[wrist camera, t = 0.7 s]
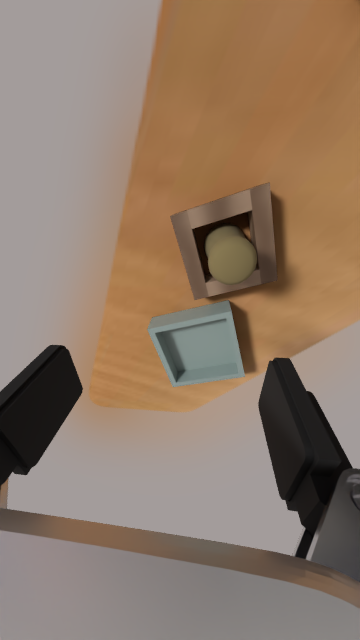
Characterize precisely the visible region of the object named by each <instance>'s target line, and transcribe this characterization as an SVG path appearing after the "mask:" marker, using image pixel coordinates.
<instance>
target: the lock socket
mask: <svg viewBox="0 0 360 640" xmlns="http://www.w3.org/2000/svg"><path fill="white" fill-rule="evenodd" d="M244 212H247V213H248V221H249V228H250V236H251V244H252V245H253V246H254V248H255V250H256V254H257V263H256V268H255V270H254V271H253V273H252V275H251V276H250V277H249V278H248V279H247V280H245V281H243V282H242V283H240V284H235V285H225V284H223V283H220V282H219V281H217V280H216V279H215V278H214V277H213V276H212V274H209V275H205V273H204V269H203V265H202V261H201V257H200V253H199V249H198V245H197V241H196V237H195V233H194V228H197V227H200V226H203V225H206V224H209V223H213V222H216V221H219V220H222V219H225V218H228V217H232V216H235V215H238V214H241V213H244ZM170 217H171V221H172V224H173V227H174V231H175V234H176V238H177V241H178V244H179V248H180V251H181V255H182V258H183V262H184V265H185V268H186V272H187V275H188V279H189V282H190V285H191V289H192V292H193V296H194V299H195V300H197V299H201V298H205V297H210V296H214V295H218V294H222V293H226V292H231V291H235V290H239V289H243V288H248V287H252V286H256V285H260V284H264V283H269V282H273V281H277V268H276V255H275V243H274V231H273V218H272V206H271V194H270V183H266V184H262V185H259V186H256V187H253V188H250V189H247V190H244V191H241V192H238V193H235V194H232V195H229V196H227V197H224V198H221V199H218V200H215V201H212V202H209V203H206V204H203V205H200V206H197V207H194V208H191V209H188V210H185V211H182V212H179V213H176V214H174V215H172V216H170Z"/></svg>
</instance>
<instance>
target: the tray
mask: <svg viewBox="0 0 360 640" xmlns="http://www.w3.org/2000/svg"><path fill="white" fill-rule="evenodd" d="M147 330H148V332H149V334H150V337H151V339H152V341H153V343H154V346H155V348H156V350H157V352H158V355H159V357H160V359H161V361H162V364H163V366H164V368H165V370H166V373H167V375H168V377H169V379H170V382H171V384H172V386H173V387H176V386H183V385H190V384H197V383H204V382H211V381H218V380H225V379H232V378H239V377H245V374H244V370H243V365H242V360H241V355H240V350H239V345H238V340H237V336H236V331H235V326H234V321H233V316H232V311H231V307H230V304H229V300H227V301H223V302H218V303H214V304H210V305H205V306H201V307H196V308H192V309H188V310H183V311H179V312H174V313H170V314H166V315H161V316H157V317H153V318H152V319H151V322H150V324H149V326H148V329H147Z"/></svg>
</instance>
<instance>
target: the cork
mask: <svg viewBox="0 0 360 640" xmlns="http://www.w3.org/2000/svg"><path fill="white" fill-rule="evenodd" d="M204 251H205V254H206V256H207V257H208V266H209V271H210V273H211V274H212V276H213V277H214V278H215V279H216V280H217V281H219V282H220V283H223V284H225V285H235V284H240V283H242V282H243V281H245V280H247V279H248V278H249V277H250V276H251V275H252V273H253V271H254V270H255V268H256V263H257V254H256V250H255V248H254V246H253V245H252V244H251V243H250V242H249V241H248V240H247V239H245V236H244V234H243V232H242V230H241V229H240V228H239V227H238V226H237V225H234V224H232V223H221V224H218V225H216V226H214V227H213V228H212V229H211V230H210V231H209V232H208V233H207V235H206V238H205V240H204Z"/></svg>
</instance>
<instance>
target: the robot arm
mask: <svg viewBox="0 0 360 640" xmlns="http://www.w3.org/2000/svg"><path fill="white" fill-rule="evenodd" d="M82 390H83V388H82V385H81V382H80V379H79V377H78V374H77V371H76V369H75V366H74V363H73V361H72V358H71V356H70V353H69V350H68V349H66V347H65V346H62V345H50V346H48V347H47V348H46V349H45V350H44V351H43V352H42V353H41V354H40V355H39V356H38V357H36V359H34V360H33V361H32V362H31V363H30V364H29V365H28V366H27V367H26V368H25V369H24V370H23V371H22V372H21V373H20V374H19V375H17V376H16V377H15V378H14V379H13V380H12V381H11V382H10V383H9V384H8V385H7V386H6V387H5V388H4V389H3V390H2V391H1V392H0V640H360V469H356V468H355V469H354V468H352V466H351V464H350V462H349V460H348V458H347V456H346V454H345V453H344V451H343V449H342V447H341V445H340V443H339V441H338V439H337V437H336V436H335V434H334V432H333V430H332V428H331V426H330V424H329V422H328V421H327V419H326V417H325V415H324V413H323V411H322V409H321V407H320V406H319V404H318V402H317V400H316V398H315V396H314V395H313V394H312V393H311V392H309V391H306V389H305V388H304V385H303V384H302V382H301V380H300V378H299V376H298V374H297V372H296V370H295V368H294V366H293V364H292V362H291V360H290V359H289V358H274V360H273V361H269V364H268V368H267V371H266V375H265V379H264V383H263V387H262V391H261V394H260V399H259V411H260V416H261V420H262V424H263V428H264V432H265V436H266V441H267V445H268V449H269V453H270V457H271V461H272V466H273V470H274V474H275V478H276V483H277V487H278V491H279V494H280V497H281V499H282V500H286V504H287V508H288V510H292V511H298V514H299V517H300V521H301V524H302V525H303V526H304V528H303V530H302V533H301V535H300V537H299V540H298V542H297V545H296V547H295V550H294V552H293V555H292V556H290V555H286V554H281V553H277V552H272V551H266V550H260V549H255V548H250V547H245V546H239V545H234V544H227V543H222V542H216V541H210V540H204V539H197V538H191V537H185V536H179V535H172V534H166V533H160V532H154V531H147V530H141V529H134V528H128V527H122V526H115V525H109V524H102V523H96V522H89V521H83V520H76V519H70V518H64V517H57V516H50V515H43V514H37V513H30V512H23V511H17V510H10V509H7V496H8V495H7V494H8V477H9V476H10V474H11V473H12V472H14V473H15V474H21V475H27V474H28V472H29V471H30V469H31V468H32V467H33V466H35V465H36V464H37V463H38V461H39V460H40V458H41V457H42V455H43V453H44V452H45V450H46V448H47V447H48V446H49V444H50V443H51V441H52V439H53V438H54V436H55V435H56V433H57V432H58V430H59V428H60V427H61V425H62V424H63V422H64V421H65V419H66V417H67V416H68V414H69V413H70V411H71V410H72V408H73V406H74V405H75V403H76V402H77V400H78V399H79V397H80V395H81V393H82Z"/></svg>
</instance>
